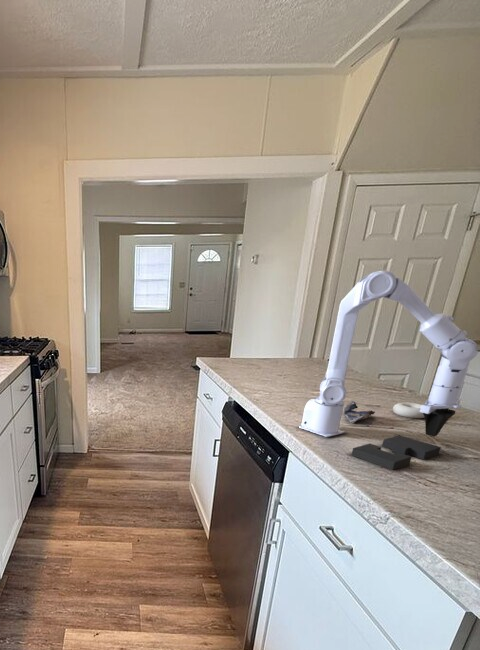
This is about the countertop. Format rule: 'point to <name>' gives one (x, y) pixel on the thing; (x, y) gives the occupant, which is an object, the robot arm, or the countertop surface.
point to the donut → (408, 410)
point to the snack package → (355, 413)
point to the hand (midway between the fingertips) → (431, 435)
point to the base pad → (381, 456)
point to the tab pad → (411, 447)
